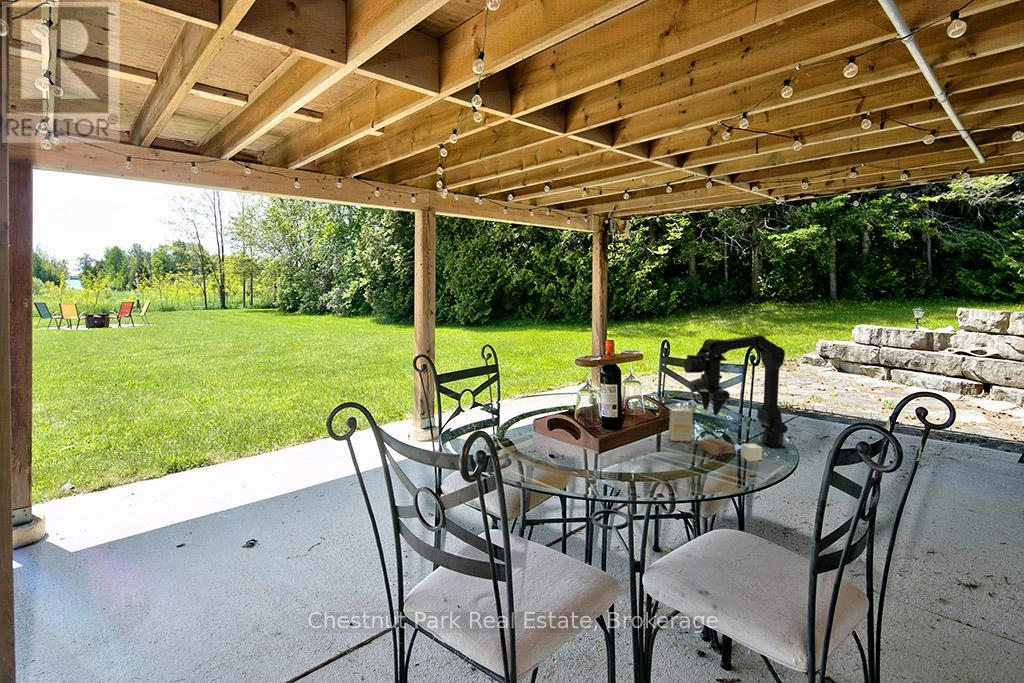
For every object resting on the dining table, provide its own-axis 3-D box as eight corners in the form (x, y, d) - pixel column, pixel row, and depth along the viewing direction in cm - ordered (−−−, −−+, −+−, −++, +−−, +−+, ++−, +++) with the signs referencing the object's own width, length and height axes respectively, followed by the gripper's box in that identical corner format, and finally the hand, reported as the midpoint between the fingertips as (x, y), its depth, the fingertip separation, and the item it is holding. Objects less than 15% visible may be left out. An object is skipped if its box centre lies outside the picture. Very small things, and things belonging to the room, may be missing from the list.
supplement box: (688, 439, 210) (690, 407, 208) (691, 442, 205) (693, 410, 203) (668, 438, 210) (669, 407, 209) (670, 441, 206) (672, 410, 204)
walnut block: (718, 447, 200) (718, 438, 200) (734, 454, 192) (734, 445, 192) (698, 449, 198) (699, 440, 197) (714, 456, 189) (714, 447, 189)
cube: (753, 456, 189) (754, 443, 188) (761, 461, 184) (762, 447, 183) (740, 457, 188) (741, 443, 188) (748, 461, 183) (749, 448, 183)
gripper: (682, 368, 204) (680, 406, 205) (700, 376, 185) (699, 418, 187) (709, 368, 204) (708, 406, 206) (731, 376, 185) (729, 418, 187)
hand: (710, 412), depth 196 cm, fingers open, 9 cm apart
